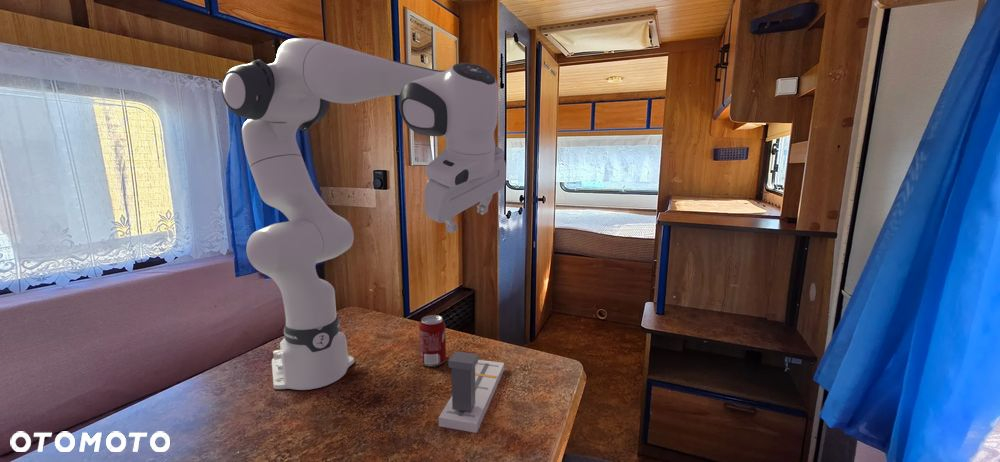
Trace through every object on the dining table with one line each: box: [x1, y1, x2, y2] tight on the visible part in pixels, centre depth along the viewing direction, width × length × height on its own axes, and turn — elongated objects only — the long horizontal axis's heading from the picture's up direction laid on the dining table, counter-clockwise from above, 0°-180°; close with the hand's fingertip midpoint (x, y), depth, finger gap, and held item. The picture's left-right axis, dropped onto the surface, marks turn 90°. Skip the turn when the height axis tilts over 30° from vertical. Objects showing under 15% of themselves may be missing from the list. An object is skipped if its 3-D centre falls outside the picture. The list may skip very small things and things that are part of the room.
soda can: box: [418, 314, 447, 367], centre depth 103 cm, size 7×7×12 cm
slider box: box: [438, 359, 505, 434], centre depth 89 cm, size 24×8×2 cm, turn 167°
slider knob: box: [447, 350, 479, 412], centre depth 81 cm, size 4×5×11 cm
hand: (467, 221), depth 81 cm, fingers open, 8 cm apart
